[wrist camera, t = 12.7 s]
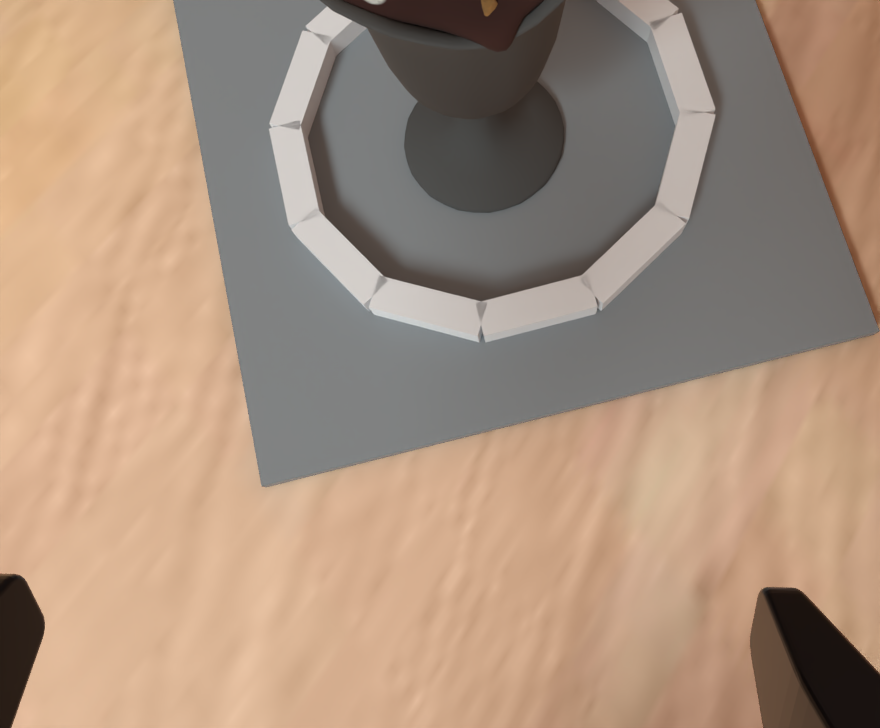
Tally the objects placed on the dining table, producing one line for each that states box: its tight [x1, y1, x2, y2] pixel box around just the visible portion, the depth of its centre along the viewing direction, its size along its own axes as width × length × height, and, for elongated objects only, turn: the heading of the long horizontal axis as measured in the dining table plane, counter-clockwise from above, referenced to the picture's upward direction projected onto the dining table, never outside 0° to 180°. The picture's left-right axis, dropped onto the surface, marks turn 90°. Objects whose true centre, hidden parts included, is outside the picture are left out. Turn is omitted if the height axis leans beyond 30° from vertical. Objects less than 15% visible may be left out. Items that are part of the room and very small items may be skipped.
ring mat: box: [173, 0, 879, 487], centre depth 25 cm, size 18×18×1 cm
